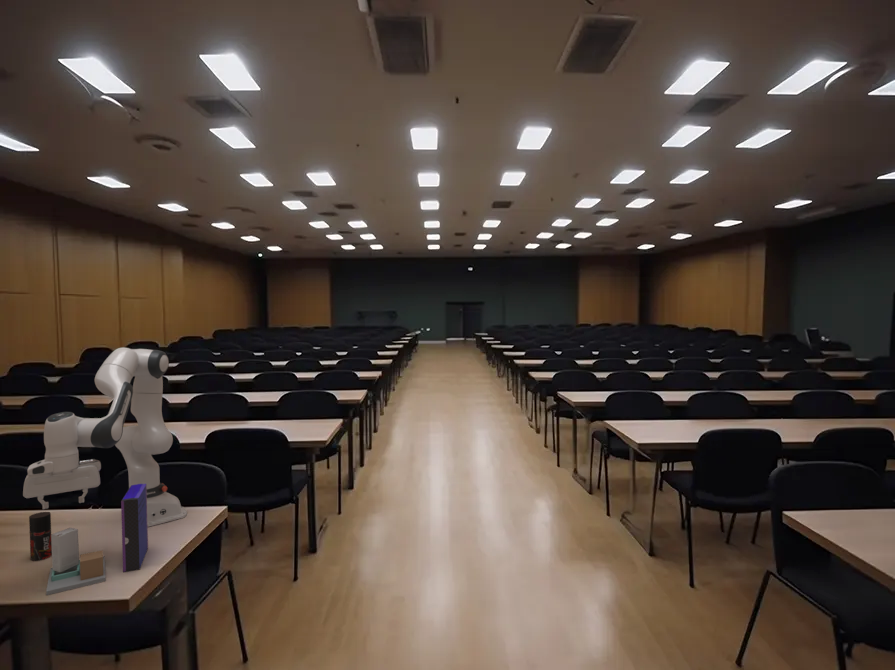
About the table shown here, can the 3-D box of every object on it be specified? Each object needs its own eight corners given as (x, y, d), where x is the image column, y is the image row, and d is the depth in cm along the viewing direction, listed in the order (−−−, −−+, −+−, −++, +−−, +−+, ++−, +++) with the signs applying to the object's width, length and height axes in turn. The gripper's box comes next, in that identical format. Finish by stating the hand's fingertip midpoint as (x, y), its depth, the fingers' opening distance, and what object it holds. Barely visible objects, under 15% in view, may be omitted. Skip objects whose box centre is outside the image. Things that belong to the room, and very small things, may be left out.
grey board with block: (104, 559, 181) (104, 539, 181) (105, 581, 166) (104, 558, 166) (50, 571, 173) (49, 550, 173) (46, 595, 158) (45, 571, 158)
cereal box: (132, 550, 188) (131, 484, 187) (148, 548, 190) (146, 483, 189) (123, 572, 172) (121, 500, 171) (139, 569, 174) (137, 498, 173)
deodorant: (39, 553, 187) (38, 511, 186) (56, 553, 186) (54, 511, 186) (26, 560, 181) (24, 518, 180) (42, 561, 180) (41, 518, 180)
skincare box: (71, 562, 174) (70, 526, 173) (80, 564, 172) (79, 528, 171) (51, 570, 168) (50, 533, 167) (60, 573, 166) (58, 535, 166)
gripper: (100, 455, 178) (102, 496, 178) (23, 466, 166) (25, 509, 167) (100, 460, 172) (102, 501, 173) (21, 471, 161) (23, 515, 162)
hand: (63, 505), depth 170 cm, fingers open, 8 cm apart
